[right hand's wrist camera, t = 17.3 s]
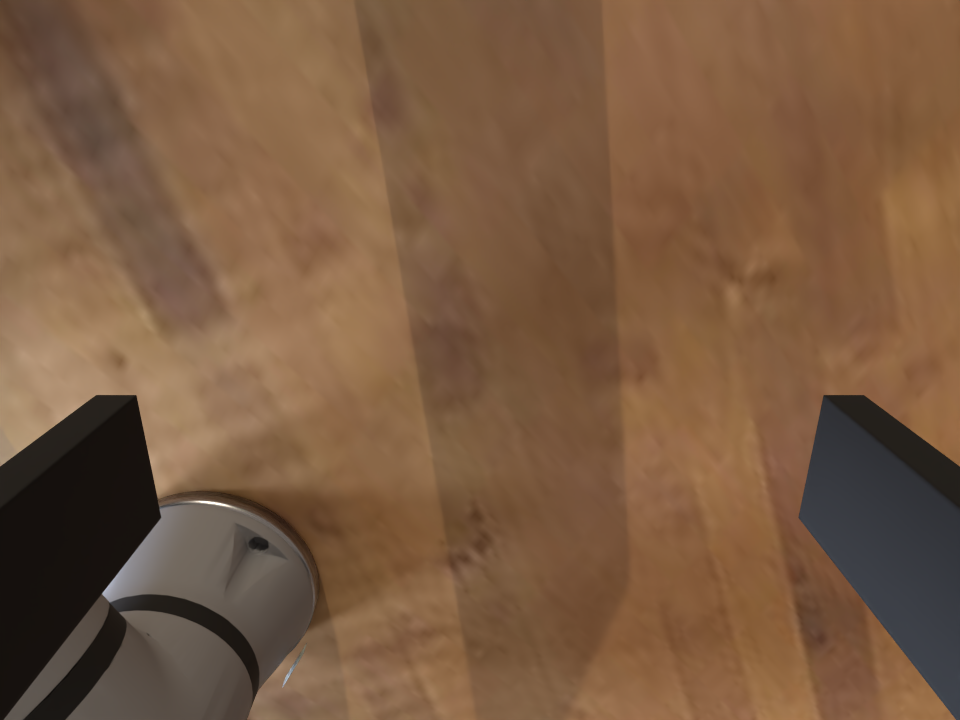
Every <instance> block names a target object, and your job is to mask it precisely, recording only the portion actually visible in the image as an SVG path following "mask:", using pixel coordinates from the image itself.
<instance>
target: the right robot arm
mask: <svg viewBox="0 0 960 720" xmlns="http://www.w3.org/2000/svg"><path fill="white" fill-rule="evenodd" d="M799 519H800V520H801V521H802V523H803V524H804V525H805V527H806V528H807V529H808V530H809V532H810V533H811V534H812V536H813V537H814V538H815V539H816V541H817V542H818V543H819V544H820V546H821V547H822V548H823V550H824V551H825V552H826V553H827V555H828V556H829V557H830V559H831V560H832V561H833V562H834V564H835V565H836V566H837V568H838V569H839V570H840V571H841V573H842V574H843V575H844V577H845V578H846V579H847V580H848V582H849V583H850V584H851V585H852V587H853V588H854V589H855V591H856V592H857V593H858V594H859V596H860V597H861V598H862V600H863V601H864V602H865V603H866V605H867V606H868V607H869V609H870V610H871V611H872V612H873V614H874V615H875V616H876V618H877V619H878V620H879V621H880V623H881V624H882V625H883V626H884V628H885V629H886V630H887V632H888V633H889V634H890V635H891V637H892V638H893V639H894V641H895V642H896V643H897V644H898V646H899V647H900V648H901V650H902V651H903V652H904V653H905V655H906V656H907V657H908V659H909V660H910V661H911V662H912V664H913V665H914V666H915V667H916V669H917V670H918V671H919V673H920V674H921V675H922V676H923V678H924V679H925V680H926V682H927V683H928V684H929V685H930V687H931V688H932V689H933V691H934V692H935V693H936V694H937V696H938V697H939V698H940V699H941V701H942V702H943V703H944V705H945V706H946V707H947V708H948V710H949V711H950V712H951V714H952V715H953V716H954V717H955V719H956V720H960V466H958V465H957V464H955V463H954V462H953V461H951V460H950V459H949V458H947V457H946V456H945V455H943V454H942V453H941V452H939V451H938V450H937V449H935V448H934V447H933V446H931V445H930V444H929V443H927V442H926V441H925V440H923V439H922V438H921V437H919V436H918V435H917V434H915V433H914V432H912V431H911V430H910V429H908V428H907V427H906V426H904V425H903V424H902V423H900V422H899V421H898V420H896V419H895V418H894V417H892V416H891V415H890V414H888V413H887V412H886V411H884V410H883V409H882V408H880V407H879V406H878V405H876V404H875V403H874V402H872V401H871V400H870V399H868V398H867V397H865V396H864V395H824V396H823V401H822V406H821V411H820V416H819V421H818V426H817V430H816V435H815V440H814V445H813V450H812V455H811V460H810V465H809V469H808V474H807V479H806V484H805V489H804V494H803V499H802V504H801V508H800V513H799ZM318 594H319V578H318V572H317V567H316V564H315V561H314V559H313V556H312V554H311V552H310V550H309V549H308V547H307V545H306V544H305V542H304V541H303V539H302V538H301V537H300V535H299V534H298V533H297V532H296V531H295V530H294V529H293V528H292V527H291V526H290V525H289V524H288V523H287V522H286V521H284V520H283V519H282V518H281V517H279V516H278V515H276V514H275V513H273V512H272V511H270V510H269V509H267V508H265V507H263V506H261V505H259V504H257V503H255V502H252V501H250V500H247V499H244V498H241V497H238V496H234V495H230V494H225V493H219V492H209V491H196V492H185V493H179V494H175V495H171V496H167V497H165V498H162V499H159V500H158V499H157V494H156V489H155V484H154V479H153V474H152V469H151V465H150V460H149V455H148V450H147V445H146V440H145V435H144V430H143V426H142V421H141V416H140V411H139V406H138V401H137V396H136V395H96V396H95V397H93V398H92V399H90V400H89V401H88V402H86V403H85V404H84V405H82V406H81V407H80V408H78V409H77V410H76V411H74V412H73V413H72V414H70V415H69V416H68V417H66V418H65V419H64V420H62V421H61V422H60V423H58V424H57V425H56V426H54V427H53V428H52V429H50V430H49V431H48V432H46V433H45V434H43V435H42V436H41V437H39V438H38V439H37V440H35V441H34V442H33V443H31V444H30V445H29V446H27V447H26V448H25V449H23V450H22V451H21V452H19V453H18V454H17V455H15V456H14V457H13V458H11V459H10V460H9V461H7V462H6V463H5V464H3V465H2V466H0V720H247V718H248V715H249V712H250V709H251V707H252V704H253V701H254V699H255V696H256V694H257V691H258V690H259V688H260V687H261V686H262V685H263V684H264V683H265V681H266V680H267V679H268V678H269V677H270V676H271V674H272V673H273V672H274V671H275V670H276V668H277V667H278V666H279V665H280V664H281V662H282V661H283V660H284V659H285V657H286V656H287V655H288V654H289V653H290V652H291V651H292V650H293V649H294V648H295V647H296V646H297V644H298V643H299V642H300V640H301V638H302V637H303V636H304V634H305V632H306V631H307V629H308V627H309V624H310V622H311V619H312V616H313V613H314V610H315V607H316V603H317V600H318ZM306 645H307V643H306ZM306 645H305V646H304V648H303V650H302V651H301V653H300V655H299V656H298V658H297V659H296V661H295V663H294V664H293V666H292V668H291V669H290V671H289V672H288V674H287V676H286V678H285V681H284V684H285V683H286V681H287V679H288V678H289V676H290V675H291V673H292V671H293V670H294V668H295V666H296V665H297V663H298V662H299V660H300V658H301V657H302V655H303V654H304V651H305V648H306ZM284 684H283V686H284Z"/></svg>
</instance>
